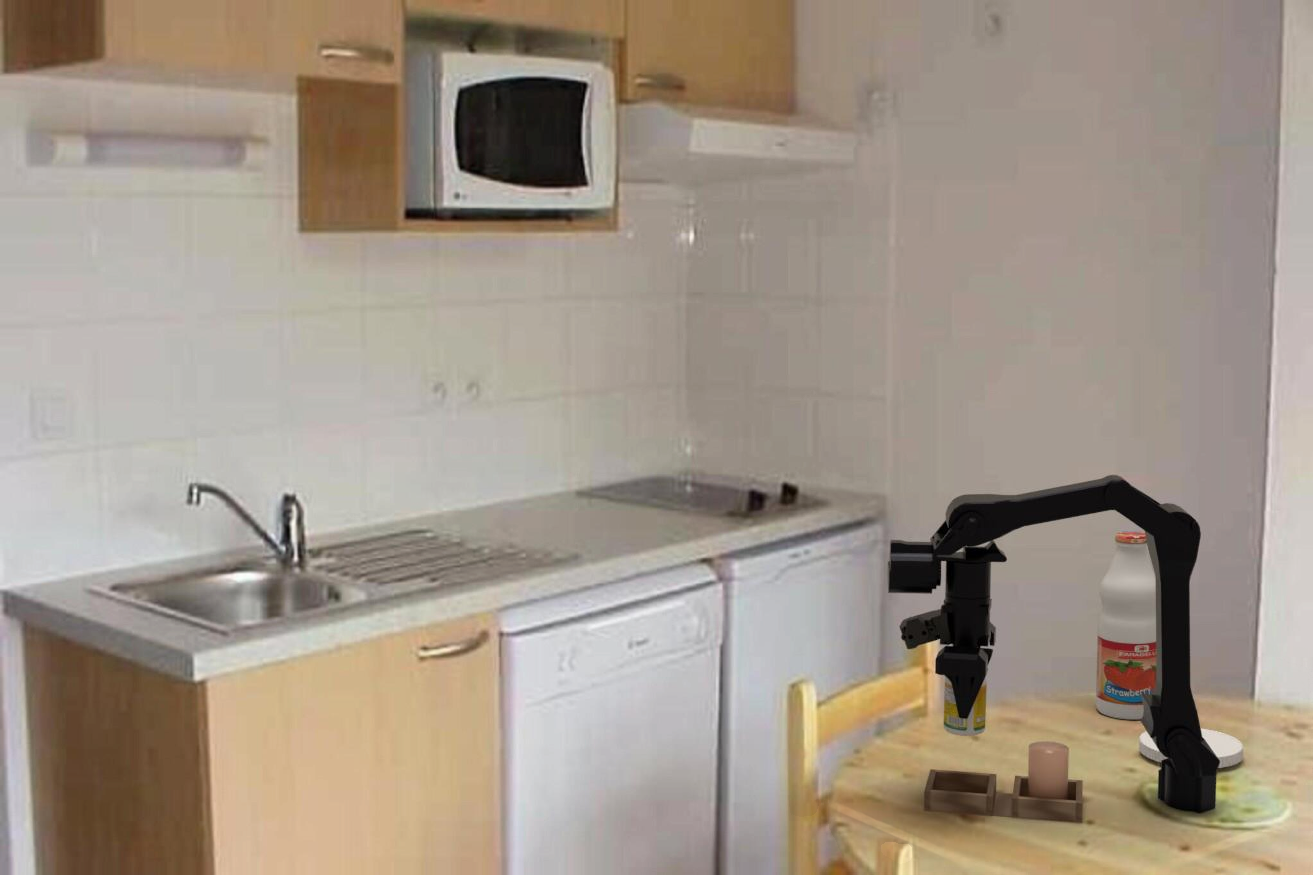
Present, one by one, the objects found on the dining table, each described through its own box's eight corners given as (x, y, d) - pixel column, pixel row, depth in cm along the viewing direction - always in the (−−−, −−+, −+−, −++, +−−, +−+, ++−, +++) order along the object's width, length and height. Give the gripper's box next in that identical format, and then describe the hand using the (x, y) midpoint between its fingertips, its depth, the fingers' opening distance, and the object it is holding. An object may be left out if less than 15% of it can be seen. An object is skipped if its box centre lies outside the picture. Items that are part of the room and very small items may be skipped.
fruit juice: (1147, 701, 257) (1152, 527, 253) (1167, 720, 248) (1173, 539, 244) (1087, 703, 257) (1092, 528, 253) (1106, 721, 247) (1111, 540, 243)
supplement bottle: (949, 737, 209) (950, 664, 208) (938, 724, 214) (940, 653, 213) (990, 736, 209) (992, 663, 208) (979, 723, 215) (980, 652, 213)
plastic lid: (1264, 765, 228) (1265, 748, 227) (1189, 781, 222) (1189, 763, 221) (1191, 737, 240) (1191, 721, 240) (1117, 752, 234) (1118, 735, 234)
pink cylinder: (1075, 809, 208) (1077, 748, 207) (1049, 817, 206) (1050, 756, 205) (1045, 798, 213) (1046, 738, 211) (1019, 806, 210) (1020, 746, 209)
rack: (1082, 806, 212) (1082, 780, 212) (1081, 830, 204) (1082, 803, 204) (930, 794, 217) (930, 769, 217) (924, 817, 209) (924, 791, 208)
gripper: (913, 575, 220) (911, 687, 222) (895, 607, 203) (893, 728, 205) (997, 579, 217) (994, 693, 219) (986, 612, 200) (983, 735, 202)
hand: (965, 711), depth 211 cm, fingers closed on supplement bottle, 5 cm apart
